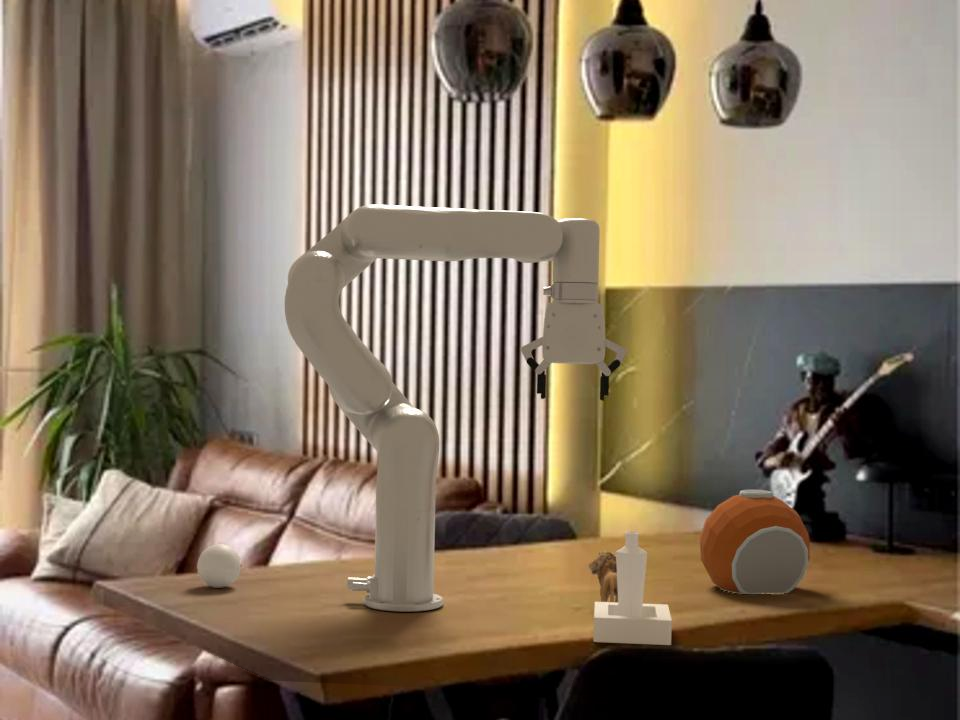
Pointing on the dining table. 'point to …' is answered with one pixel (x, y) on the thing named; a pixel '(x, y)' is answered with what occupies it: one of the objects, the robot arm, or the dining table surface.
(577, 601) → the dining table surface
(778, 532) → the alarm clock
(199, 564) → the off-white rounded piece
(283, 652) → the dining table surface
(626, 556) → the perfume bottle
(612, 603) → the white rectangular box
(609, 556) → the lion figurine
